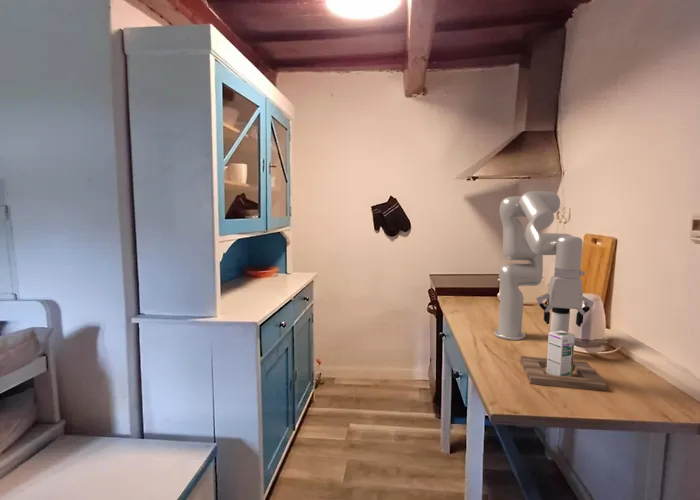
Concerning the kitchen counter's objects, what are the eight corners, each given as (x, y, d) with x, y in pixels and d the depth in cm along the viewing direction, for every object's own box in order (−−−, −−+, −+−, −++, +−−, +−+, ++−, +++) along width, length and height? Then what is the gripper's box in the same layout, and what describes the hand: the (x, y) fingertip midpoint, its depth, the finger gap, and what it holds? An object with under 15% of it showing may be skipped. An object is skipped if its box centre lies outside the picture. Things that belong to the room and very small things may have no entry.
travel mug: (549, 356, 165) (553, 304, 162) (548, 350, 171) (551, 300, 169) (567, 358, 163) (571, 306, 160) (565, 353, 169) (569, 302, 166)
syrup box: (559, 379, 144) (563, 336, 142) (545, 372, 149) (548, 331, 147) (572, 376, 146) (575, 334, 144) (557, 370, 151) (560, 329, 150)
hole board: (520, 361, 159) (520, 355, 159) (586, 367, 155) (586, 361, 154) (530, 383, 140) (530, 377, 140) (605, 391, 135) (606, 384, 135)
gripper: (592, 273, 145) (587, 323, 148) (536, 270, 149) (532, 319, 151) (599, 277, 138) (594, 329, 140) (540, 274, 142) (537, 325, 144)
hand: (562, 324), depth 146 cm, fingers open, 9 cm apart
